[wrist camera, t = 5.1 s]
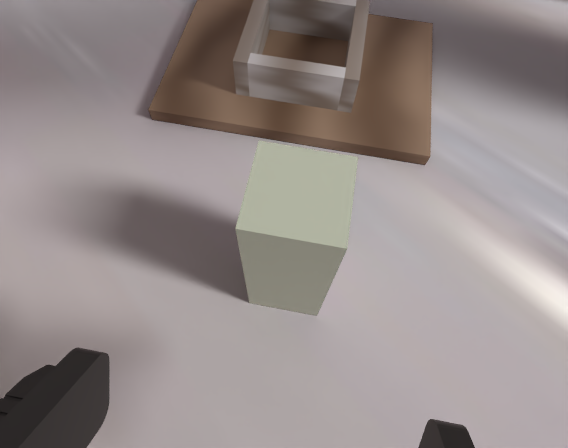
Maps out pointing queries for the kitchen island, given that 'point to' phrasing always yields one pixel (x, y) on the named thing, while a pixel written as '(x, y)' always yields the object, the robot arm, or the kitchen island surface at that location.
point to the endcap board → (304, 76)
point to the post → (294, 225)
